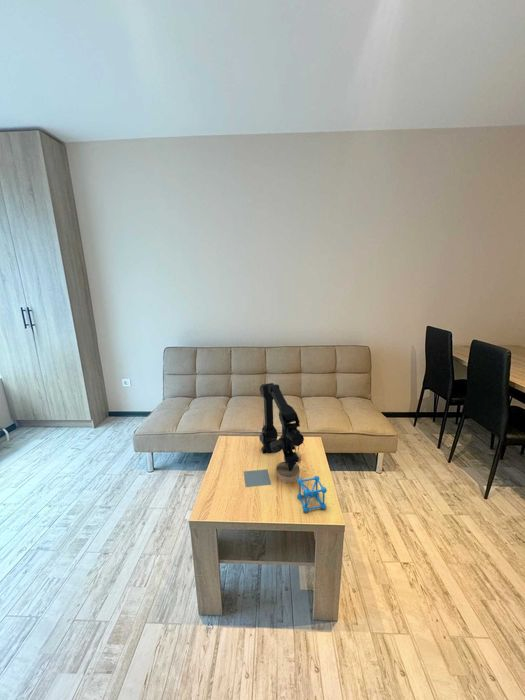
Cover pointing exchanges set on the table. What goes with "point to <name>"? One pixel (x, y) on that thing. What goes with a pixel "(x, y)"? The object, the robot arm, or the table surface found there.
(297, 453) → the figurine
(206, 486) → the table surface
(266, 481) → the mat
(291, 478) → the bowl
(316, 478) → the molecular structure
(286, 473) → the lid
